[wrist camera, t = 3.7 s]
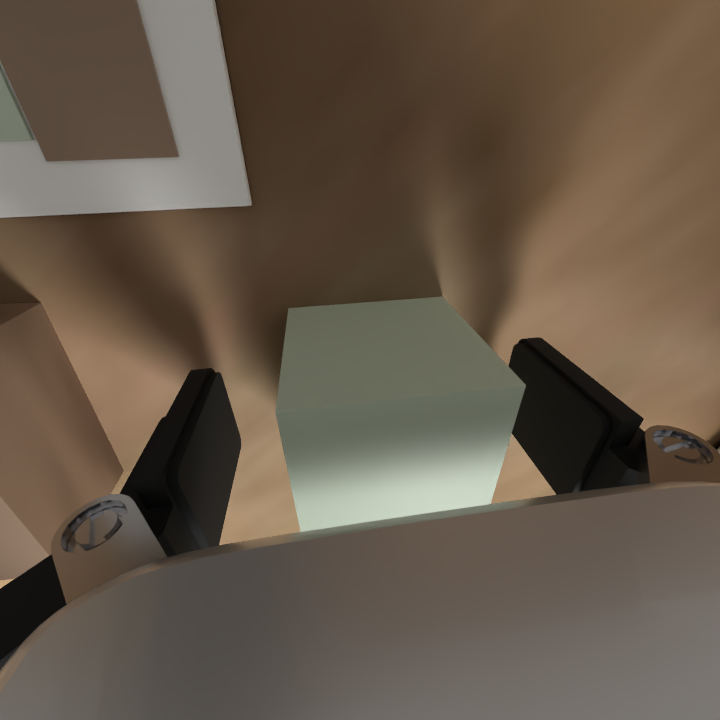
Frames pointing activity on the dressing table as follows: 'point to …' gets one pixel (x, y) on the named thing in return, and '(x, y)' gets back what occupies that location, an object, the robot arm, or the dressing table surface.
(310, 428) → the sage cube
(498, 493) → the dressing table surface
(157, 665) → the robot arm
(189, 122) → the tile
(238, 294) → the dressing table surface
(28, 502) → the walnut base
